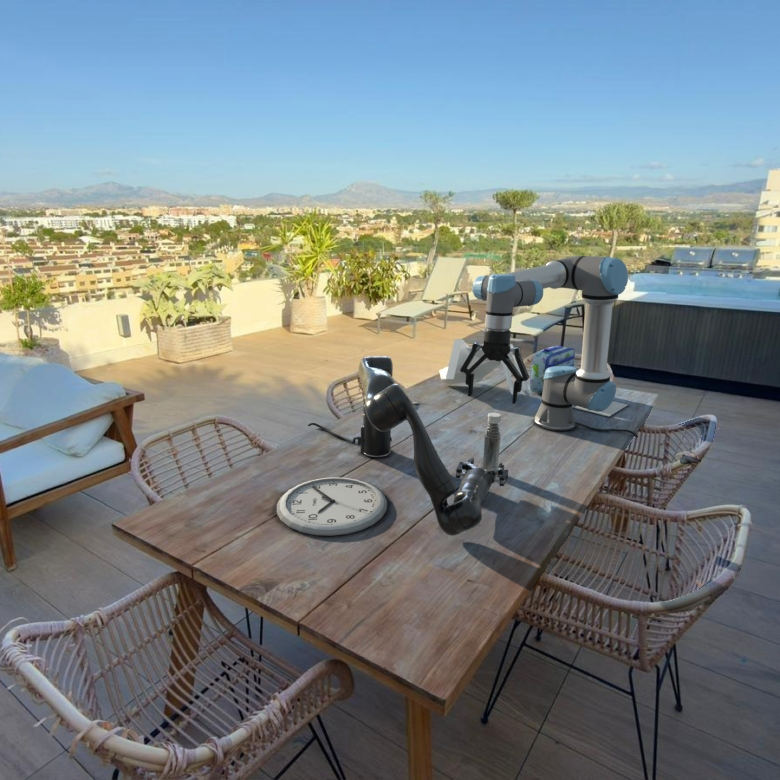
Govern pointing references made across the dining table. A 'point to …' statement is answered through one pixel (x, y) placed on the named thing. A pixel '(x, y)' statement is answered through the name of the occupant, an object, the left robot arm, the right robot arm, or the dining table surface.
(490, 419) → the cap
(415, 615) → the dining table surface
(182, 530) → the dining table surface
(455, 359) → the white plastic object
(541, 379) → the lunch box
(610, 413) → the invitation card
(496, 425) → the bottle
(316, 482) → the wall clock
